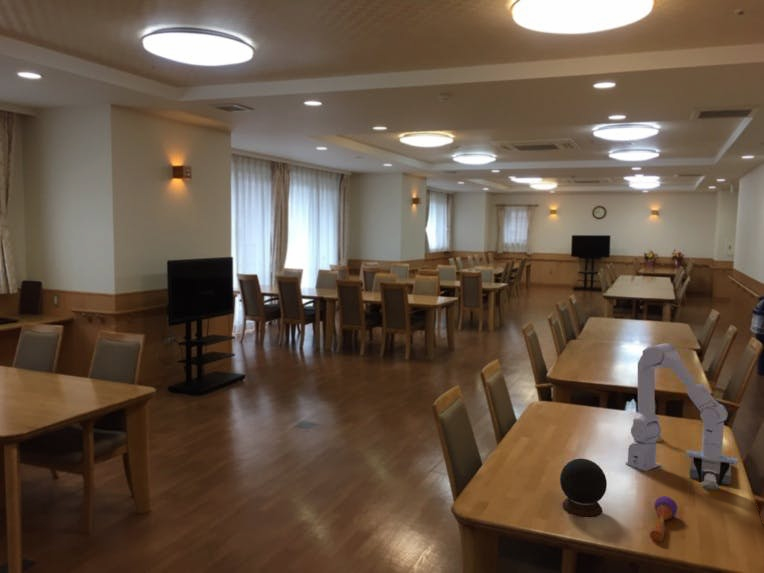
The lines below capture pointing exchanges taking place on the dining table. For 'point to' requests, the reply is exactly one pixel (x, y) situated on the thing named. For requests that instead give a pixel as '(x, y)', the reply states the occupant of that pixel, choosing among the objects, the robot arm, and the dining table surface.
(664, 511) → the kendama
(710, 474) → the bushing
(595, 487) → the black ball on stand
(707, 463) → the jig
